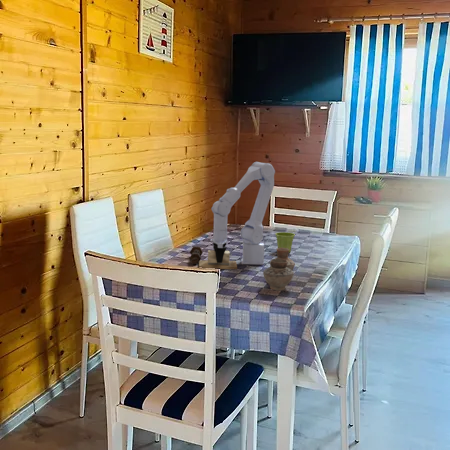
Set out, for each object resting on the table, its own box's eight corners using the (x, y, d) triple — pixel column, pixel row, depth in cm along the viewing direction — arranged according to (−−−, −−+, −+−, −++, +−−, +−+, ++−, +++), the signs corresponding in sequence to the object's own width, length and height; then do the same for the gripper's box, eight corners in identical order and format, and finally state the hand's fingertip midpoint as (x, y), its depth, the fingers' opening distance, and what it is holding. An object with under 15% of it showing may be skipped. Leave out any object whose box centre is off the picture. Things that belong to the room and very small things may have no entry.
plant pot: (293, 254, 258) (294, 236, 257) (273, 253, 260) (274, 235, 259) (294, 250, 267) (295, 232, 266) (275, 248, 269) (276, 231, 268)
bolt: (192, 269, 234) (194, 259, 248) (203, 264, 233) (204, 254, 248) (186, 257, 233) (188, 248, 247) (196, 252, 232) (198, 243, 247)
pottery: (296, 276, 221) (297, 247, 219) (291, 294, 197) (293, 262, 195) (268, 274, 223) (269, 245, 221) (260, 291, 199) (262, 259, 197)
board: (235, 263, 239) (236, 261, 238) (237, 269, 229) (237, 266, 228) (199, 262, 238) (199, 260, 238) (198, 268, 228) (198, 265, 228)
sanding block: (228, 262, 236) (229, 250, 235) (229, 265, 231) (229, 253, 230) (207, 261, 235) (208, 250, 235) (207, 264, 230) (208, 252, 230)
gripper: (210, 226, 238) (209, 256, 240) (210, 232, 223) (209, 264, 226) (226, 226, 238) (225, 257, 240) (228, 233, 224) (227, 265, 226)
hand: (219, 260), depth 233 cm, fingers closed on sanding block, 5 cm apart
